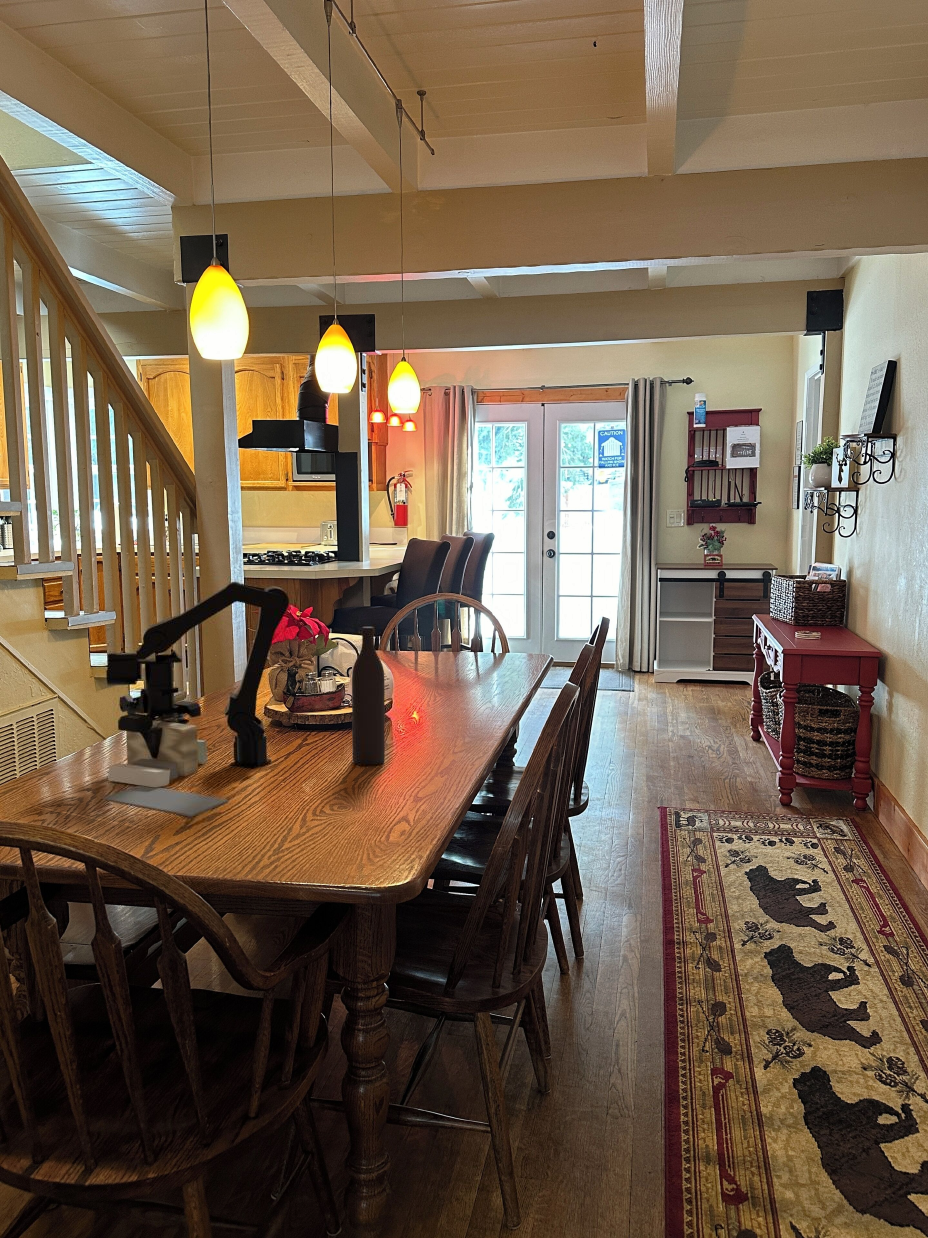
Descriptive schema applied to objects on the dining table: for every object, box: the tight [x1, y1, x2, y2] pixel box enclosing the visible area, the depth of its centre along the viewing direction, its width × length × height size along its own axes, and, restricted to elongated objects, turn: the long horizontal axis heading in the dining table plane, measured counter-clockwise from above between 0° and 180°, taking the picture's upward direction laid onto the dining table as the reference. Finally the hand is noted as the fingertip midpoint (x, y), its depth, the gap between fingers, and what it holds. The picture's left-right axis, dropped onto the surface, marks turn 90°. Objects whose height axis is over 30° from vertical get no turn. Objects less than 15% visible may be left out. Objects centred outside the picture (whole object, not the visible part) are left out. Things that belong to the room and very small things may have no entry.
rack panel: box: [197, 739, 208, 765], centre depth 204 cm, size 12×1×5 cm, turn 64°
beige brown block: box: [125, 721, 199, 777], centre depth 197 cm, size 16×4×10 cm, turn 64°
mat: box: [101, 785, 229, 818], centre depth 176 cm, size 22×10×1 cm, turn 64°
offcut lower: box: [107, 763, 170, 788], centre depth 187 cm, size 12×4×3 cm, turn 67°
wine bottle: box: [351, 626, 386, 767], centre depth 202 cm, size 7×7×30 cm
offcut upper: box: [132, 759, 179, 782], centre depth 191 cm, size 9×3×3 cm
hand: (162, 755), depth 197 cm, fingers closed on beige brown block, 4 cm apart
